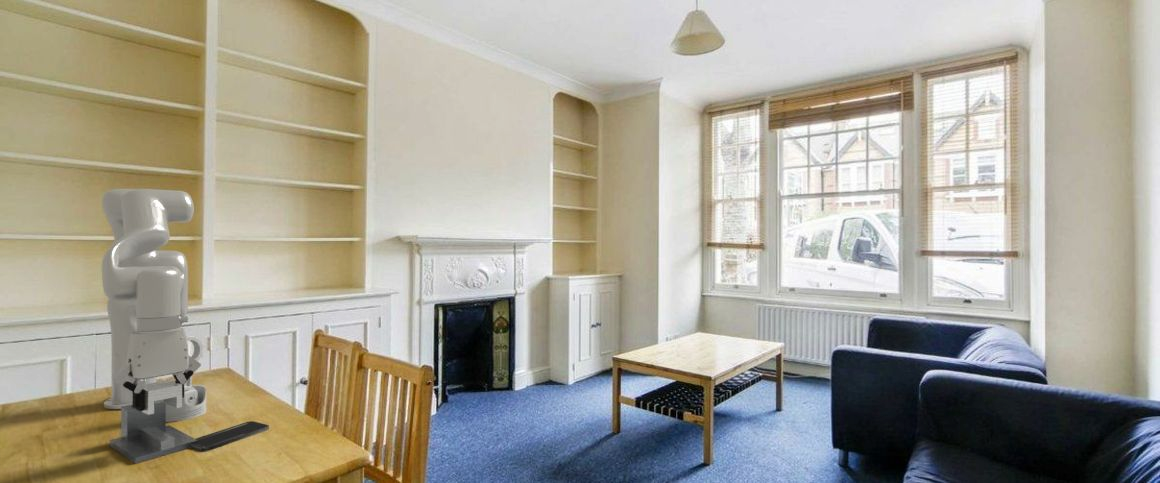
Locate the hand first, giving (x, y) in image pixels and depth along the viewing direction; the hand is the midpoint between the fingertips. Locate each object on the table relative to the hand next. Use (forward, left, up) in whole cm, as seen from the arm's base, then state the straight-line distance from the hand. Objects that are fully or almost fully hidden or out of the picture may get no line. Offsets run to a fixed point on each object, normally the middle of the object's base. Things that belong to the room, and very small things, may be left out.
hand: (159, 405), depth 113 cm
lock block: (0, 0, -1) cm, 1 cm away
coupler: (-3, 0, -10) cm, 10 cm away
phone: (+5, +12, -10) cm, 17 cm away
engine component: (-21, +12, -10) cm, 26 cm away
